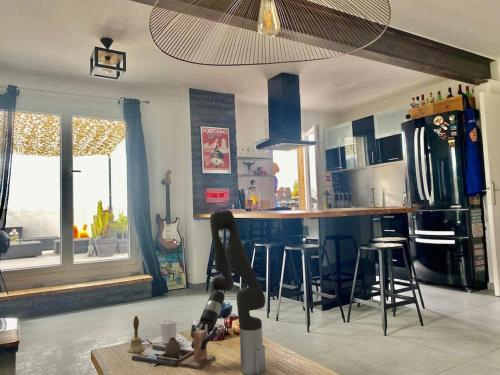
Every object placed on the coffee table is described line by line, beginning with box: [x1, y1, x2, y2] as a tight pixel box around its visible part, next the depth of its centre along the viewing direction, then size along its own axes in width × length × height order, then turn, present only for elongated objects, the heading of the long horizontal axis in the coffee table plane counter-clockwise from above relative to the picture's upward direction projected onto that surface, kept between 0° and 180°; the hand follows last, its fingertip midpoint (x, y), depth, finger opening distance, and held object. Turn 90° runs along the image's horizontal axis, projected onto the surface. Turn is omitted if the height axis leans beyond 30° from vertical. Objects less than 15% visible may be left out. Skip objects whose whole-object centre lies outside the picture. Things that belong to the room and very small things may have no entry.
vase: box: [164, 337, 182, 359], centre depth 172 cm, size 7×7×9 cm
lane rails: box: [131, 344, 177, 368], centre depth 173 cm, size 24×15×2 cm, turn 64°
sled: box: [156, 329, 216, 370], centre depth 168 cm, size 23×12×13 cm, turn 64°
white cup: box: [160, 319, 177, 345], centre depth 195 cm, size 8×8×10 cm
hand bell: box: [127, 315, 146, 354], centre depth 185 cm, size 8×8×16 cm
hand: (197, 348), depth 163 cm, fingers closed on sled, 4 cm apart
